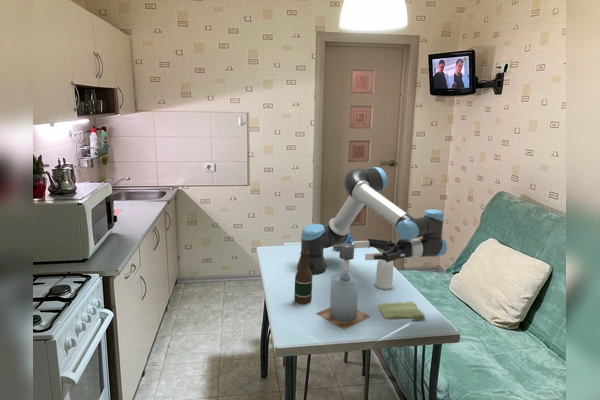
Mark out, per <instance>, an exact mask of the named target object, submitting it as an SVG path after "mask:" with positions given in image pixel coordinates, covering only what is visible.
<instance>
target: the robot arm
mask: <svg viewBox="0 0 600 400" xmlns="http://www.w3.org/2000/svg"><path fill="white" fill-rule="evenodd" d="M387 186H388V176H387V174H386V172H385V171H384V169H383V168H381V167H378V166H377V167H375V166H370V167H364V168H363V167H362V168H354V169H351V170H350V171H348V172H347V173H346V174H345V176H344V178H343V188H344V191H345V192H346V193H347V194H348V195H349V196H348V197H347V199H346V200H345V202H344V204H343V205H342V207H341V208H340V209H339V211H338V212H337V214H336V215H335V217H332V218H331V219H330V220H329V221H328V223H327V224H326V225H323V224H321V223H310V224H307V225H304V226H303V227H302V229H301V235H300V237H301V238H300V239H301V242H300V243H301V244H300V247H301V248H300V252H301V251H302V250H307V251H309V254H308V265H309V269H310V271H311V273H312V275H321V274H323V273H326V270H327V264H326V261H325V260H326V259H325V257H324V249H328V248H333V245H340V244H342V243H346V242H347V241H348V239H349V234H351V233H350V226H351V225H352V223H353V222H354V220H355V219H356V217H357V216H358V214H359V213H360V212H361V211H362V209H363V207H364V206H366V207H368V208H369V209H371V211H373V212H375V214H377V215H378V216H379V217H380V218H382V219H383V220H384V221H386V222H387V223H389V224H390V225H391V226H392V227H394V228H395V230H396V234H397V235H398V237H399V238H400V239H399V240H398V241H397V242H396V243H395V242H393V240H384V239H375V238H368V239H367V240H359V241H354V240H353V245H354V249H364V248H365V249H370V248H373V249H379V250H382V249H383V250H384V251H386V252H383V255H382V251H381V252H365V254H364V261H378V260H386V262H390V261H393V262H394V261H396V260H399V259H409V258H412V259H416V258H424V257H426V258H430V257H431V258H432V257H435V258H437V257H442V256H445V255H446V253H447V251H448V246H447V245H448V243H447V241H446V239H445V238H444V237H442V236H443V227H444V212H443V211H442V210H439V209H435V208H429V209H425V211H424V214H423V216H420V217H413V216H412V215H411V214H409V213H407V212H406V211H405V210H403V209H402V208H401V207H399V206H398V205H396V204H395V203H393V202H392V201H390V200H389V199H388V198H386V197H385V196H384V195H382V194H381V193H380V192H383V191H384V190H385V189H386V188H387ZM421 237H422V238H421ZM300 260H301V255H300V257H299V259H298V261H297V266H296V268H297V270H298V269H299V268H300Z"/></svg>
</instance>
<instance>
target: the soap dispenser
mask: <svg viewBox="0 0 600 400" xmlns="http://www.w3.org/2000/svg"><path fill="white" fill-rule="evenodd" d="M330 278H331V281H330V282H331V284H330V299H329V307H330V317H331V318H333V319H334V320H337V321H341V322H349V321H353V320H355V319H356V316H357V310H358V301H359V299H358V297H359V287H360V286H359V284H360V279H359V277H358V276H357V275H354V274H351V273H350V272H348V275H344V274H343V271H342V272H340V273H335V274H333V275H331V277H330Z"/></svg>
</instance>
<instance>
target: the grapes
mask: <svg viewBox="0 0 600 400" xmlns="http://www.w3.org/2000/svg"><path fill="white" fill-rule="evenodd" d="M352 237H353V235H352V234H351V233H350V234H349V239H348V241H347V242H346V243H350V244H354V239H353V238H352ZM335 251H339V252H340V249H335Z"/></svg>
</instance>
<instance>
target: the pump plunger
mask: <svg viewBox="0 0 600 400" xmlns="http://www.w3.org/2000/svg"><path fill="white" fill-rule="evenodd" d="M332 249H333V250H336V249H340V250H339V258H340V259H341V260H343V267H342V268H343V269H342V272H343V274H344V275H348V273H349V263H350V260H353V259H354V257H355V248H354V243H351V244H350V243H342V244H340V245H333V247H332Z"/></svg>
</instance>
